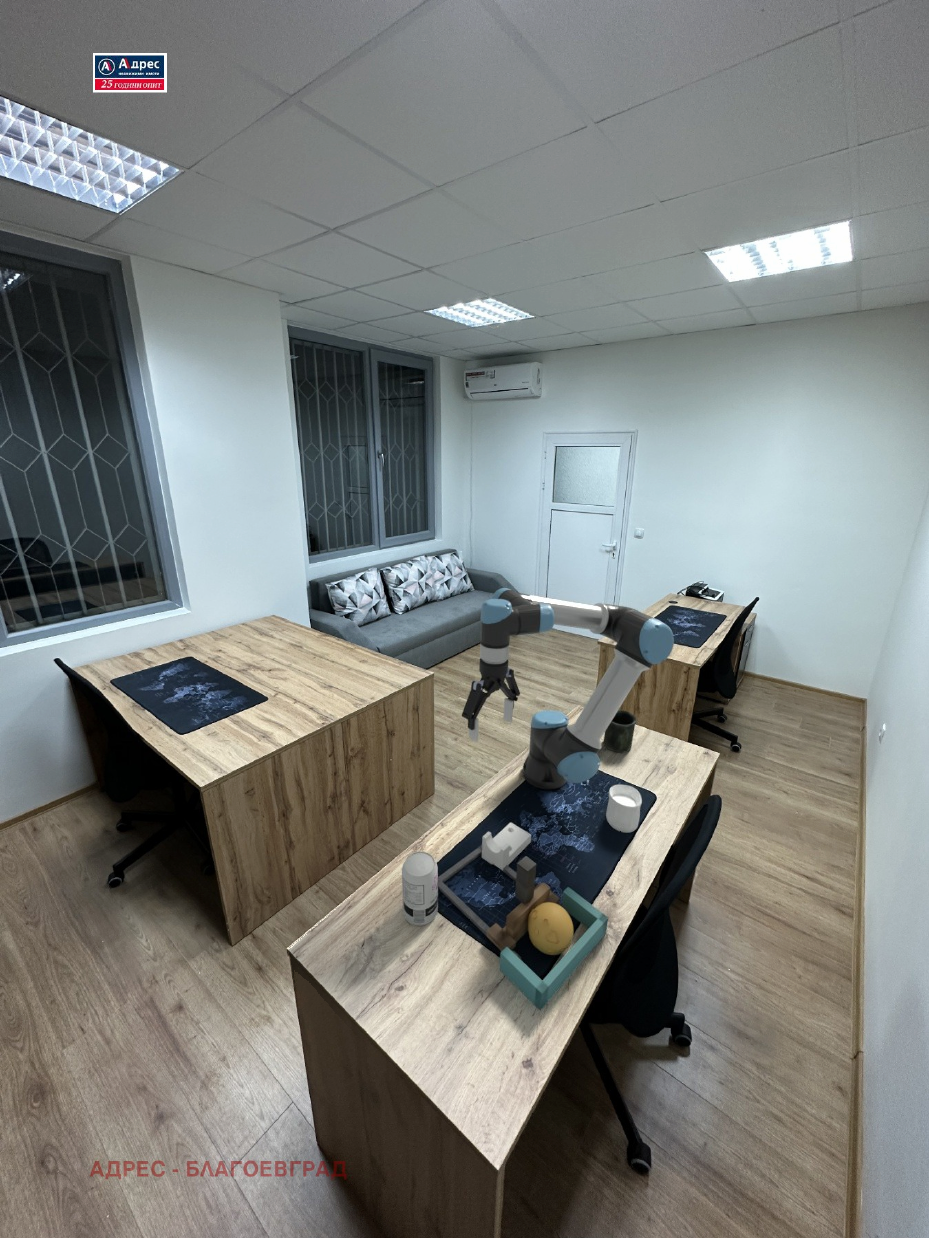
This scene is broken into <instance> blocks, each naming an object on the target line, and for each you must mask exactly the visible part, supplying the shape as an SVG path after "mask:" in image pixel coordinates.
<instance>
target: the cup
mask: <svg viewBox="0 0 929 1238" xmlns="http://www.w3.org/2000/svg"><path fill="white" fill-rule="evenodd" d="M642 803H643V800H642V794H641V793H640V792H639V791H638V789H637V788H635V787H634V786H632V785H628V784H627V785H626V784H614V785H612V786H611V787H610V788H609V791H608V803H607V807H606V813H605V816H606V817H605V818H606V821H607V823H609V825H610V826H611V827H612V828H613V829H614V830H616V831H618V832H620V831H621V833H626V834H628V833H632V832H634V831H635V830H637V829H638V826H639V823H640V815H641V811H640V810H641V807H642Z"/></svg>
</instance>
